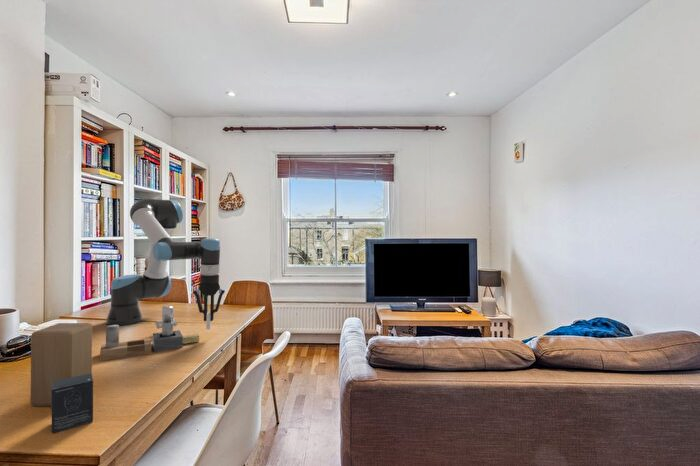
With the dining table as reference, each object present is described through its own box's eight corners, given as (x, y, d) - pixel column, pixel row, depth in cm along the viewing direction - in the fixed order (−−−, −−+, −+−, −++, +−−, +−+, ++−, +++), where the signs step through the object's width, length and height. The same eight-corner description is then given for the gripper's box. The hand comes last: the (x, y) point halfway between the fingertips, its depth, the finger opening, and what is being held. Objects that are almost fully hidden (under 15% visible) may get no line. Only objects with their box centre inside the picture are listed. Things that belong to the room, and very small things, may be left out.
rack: (101, 353, 131) (101, 324, 131) (150, 346, 140) (150, 319, 139) (100, 360, 124) (100, 330, 124) (151, 353, 133) (151, 324, 133)
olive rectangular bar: (177, 342, 144) (177, 336, 144) (198, 339, 149) (198, 333, 149) (178, 344, 142) (178, 338, 142) (199, 341, 146) (199, 335, 146)
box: (91, 413, 89) (92, 372, 89) (93, 422, 85) (93, 379, 85) (51, 423, 84) (52, 380, 84) (51, 434, 80) (51, 388, 80)
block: (57, 390, 101) (57, 322, 101) (93, 389, 102) (93, 322, 102) (28, 407, 91) (29, 332, 91) (68, 406, 92) (69, 332, 92)
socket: (152, 344, 143) (152, 333, 143) (179, 340, 148) (179, 330, 148) (154, 351, 134) (154, 340, 134) (182, 347, 140) (182, 336, 140)
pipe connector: (167, 338, 150) (168, 315, 150) (148, 337, 152) (148, 314, 152) (183, 332, 160) (183, 310, 160) (164, 330, 162) (164, 309, 162)
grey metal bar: (161, 345, 142) (161, 306, 142) (172, 343, 144) (172, 305, 144) (162, 348, 138) (162, 308, 138) (173, 346, 141) (173, 307, 140)
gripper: (192, 275, 144) (190, 331, 145) (225, 275, 148) (223, 330, 148) (194, 273, 151) (193, 326, 152) (226, 272, 155) (224, 325, 155)
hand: (208, 328), depth 150 cm, fingers closed
